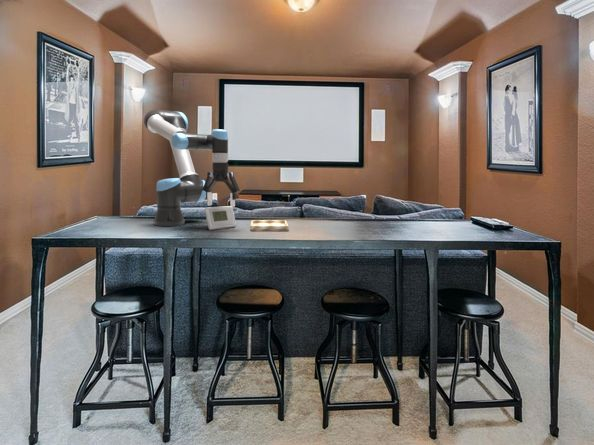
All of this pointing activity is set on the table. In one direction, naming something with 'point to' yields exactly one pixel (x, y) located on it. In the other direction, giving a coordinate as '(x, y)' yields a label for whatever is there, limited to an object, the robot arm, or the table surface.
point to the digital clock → (220, 217)
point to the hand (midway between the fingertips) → (221, 206)
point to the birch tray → (269, 225)
